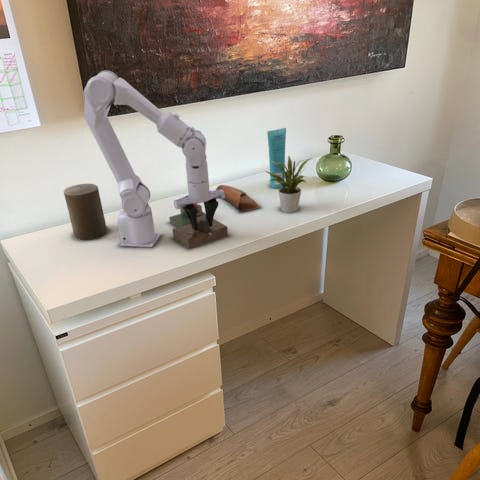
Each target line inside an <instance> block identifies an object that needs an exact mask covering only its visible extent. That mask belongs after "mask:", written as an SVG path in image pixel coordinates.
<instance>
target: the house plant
mask: <svg viewBox="0 0 480 480" xmlns="http://www.w3.org/2000/svg"><path fill="white" fill-rule="evenodd" d="M312 159H313V158H308V159H306V160H300V161H298V162H297V163H296V161H295V160H294V161H292V159H291V156H290V155H288V156H287V166H286V164H285V165H284V164H283V163H282V162H281V161H280V162H281V163H282V164H283V165H284V167H285V169H284V168H283V167H282V166H281V165H280V164H279V163H277V162H274V161H272V162H274V163H276V164H278V165H279V168H280V167H281V168H280V169H281V171H282V170H283V171H282V173H283V172H284V173H283V175H282V176H284V180H283V179H282V178H281V177H280V176H278V175H276V174H274V173H272V172H270V171H268V170H265V173H266V174H268V175H269V176H270V175H271V176H272V177H274V178H275V179H272V180H270V179H269V181H268V182H267V183H270V181H278V182H279V183H280V184H281V185H282V186H283V187H280V188H279V189H278V197H279V204H280V209H281V211H282V212H284V213H295V212H297V211H298V210H299V205H300V198H301V195H302V194H301V193H302V189H301V188H300V187H298V185H300V183H305V184H307V180H306V179H303V178H307V176H306V175H301V174H302V173H303V172H304V170H303V169H304V168H305V165H306V164H307V163H308V162H309V161H310V160H312ZM301 162H302V163H301ZM300 163H301V164H300ZM299 164H300V166H299V167H298V165H299ZM271 167H272V166H271ZM297 167H298V169H297ZM273 168H274V167H273ZM275 169H276V168H275ZM296 169H297V172H296ZM295 172H296V173H295ZM284 174H285V175H284Z"/></svg>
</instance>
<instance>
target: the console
mask: <svg viewBox="0 0 480 480" xmlns="http://www.w3.org/2000/svg"><path fill="white" fill-rule="evenodd" d="M172 236H173V238H172V239H174V240H176V241H177V243H179V244H181V245H182V246H184V247H185V248H187V249H188V250H190V249H193V248H196V247H200V246H203V245H206V244H209V243H211V242H215V241H217V240H220V239H224V238H226V237H228V236H229V232H228V226H227V225H225V224H224V223H222V222H220V221H218V220H216V219H215V218H213V223H212V226H211V227H210V226H209V232H206V233H204V232H202V231H201V230H200V229H198V230H196V231H195V230H194V229H193V228H192V225H191V223H190V224H187V225H183V226H180V227H174V228H172Z"/></svg>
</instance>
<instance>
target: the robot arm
mask: <svg viewBox="0 0 480 480" xmlns="http://www.w3.org/2000/svg"><path fill="white" fill-rule="evenodd" d="M83 96H84V113H83V114H84V115H83V117H84V119H85V122H86V123H87V125H88V128H89V130H90V131H91V134H92V135H93V138H94V140H95V141H96V144H97V145H98V147H99V149H100V151H101V154H102V156H103V157H104V159H105V161H106V163H107V164H108V168H109V169H110V171H111V173H112V175H113V177H114V179H115V181H116V183H117V187H118V189H117V190H118V194H119V197H120V199H121V208H122V210H121V211H119V212H118V216H117V226H118V227H117V228H118V233H119V238H120V246H121V247H135V248H136V247H137V248H153V247H154V245H155V244H156V243H157V241H158V240H159V238H160V236H161V234H160V233H156V231H155V224H154V218H153V211H152V207H151V206H150V204H149V201H150V199H151V191H150V189H149V187H148V186H147V185H145V184H144V182H143V181H142V180H141V177H140V176H138V175H137V174H136V173H135V171H134V169H133V167H132V165H131V162H130V161H129V159H128V156H127V155H126V153H125V151H124V148H123V146H122V144H121V142H120V140H119V138H118V136H117V134H116V132H115V130H114V128H113V125H112V124H111V122H110V120H109V118H108V114H109V111H110V108H111V106H112V103H113V105H115V106H123V105H124V106H129V107H130V108H131V109H133V110H134V111H136V112H137V113H139V114H140V115H142V116H143V117H145V118H147V119H148V120H149V121H151V122H152V123H153V124H155V127H156V130H157V132H158V133H159V134H160V135H162V136H163V137H164V138H166V139H167V140H168V141H170V142H171V143H172V144H174V146H176V147H178V148H180V149H181V152H182V154H183V156H184V157H185V171H186V182H187V183H186V184H187V192H188V195H185V196H183V197H180V198H178V199H174V200H173V207H174V209H176V210H180V209H181V208H182V207H183V209H184V210H185V212H186V214H187V215H188V217H189V220H190V222H191V225H192V228H193V229H194V230H195V231H196V230H198V225H197V209H196V208H195V206H194V204H202V203H203V207H204V213H205V214H206V219H207V220H208V223H209V226H210V227H211V226H212V223H213V219H215V218H214V217H215V214H216V211H217V209H218V207H219V201H218V199H224V198H225V192H224V191H223V190H216V189H214V190H210V181H209V180H210V179H209V168H208V166H209V165H208V161H207V154H206V153H207V152H206V150H207V148H206V147H207V139H206V137H205V135H204V134H203V133H202V132H201V130H198V129H196V128H195V127H194V126H189V125H188V124H187V123H185V122H184V121H183V120H181V119H180V116H181V115H179V114H178V113H177V112H176V113H172V112H171V111H169V112H163V111H162V110H161V109H159V108H158V106H156V105H154V103H152V102H151V101H150V100H149V99H147V98H146V97H145V96H144V95H142V93H141V92H139V91H138V90H137V89H135V88H134V87H133V86H132V85H131V84H130V83H129V82H127V80H125V79H124V78H122V77H118V75H117V74H116V73H115V72H113V71H112V70H101V71H99V72H98V73H97V75H95V76H93V77H91V78H90V79H89V80H88V81H87V83H86V85H85V87H84V89H83Z"/></svg>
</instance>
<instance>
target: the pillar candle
mask: <svg viewBox="0 0 480 480" xmlns="http://www.w3.org/2000/svg"><path fill="white" fill-rule="evenodd" d="M63 196H64V199H65V203H66V207H67V211H68V216H69V220H70V224H71V228H72V232H73V236H74V237H75V238H76V239H79V240H82V241H87V240H90V241H91V240H94V239H95V240H96V239H100V238H102V237H103V236H104V235H106V234H107V233H108V228H107V223H106V219H105V214H104V210H103V205H102V200H101V195H100V191H99V186H98V185H97V184H94V183H79V184H74V185H71V186H68V187H66V188H65V189H64V190H63Z"/></svg>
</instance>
